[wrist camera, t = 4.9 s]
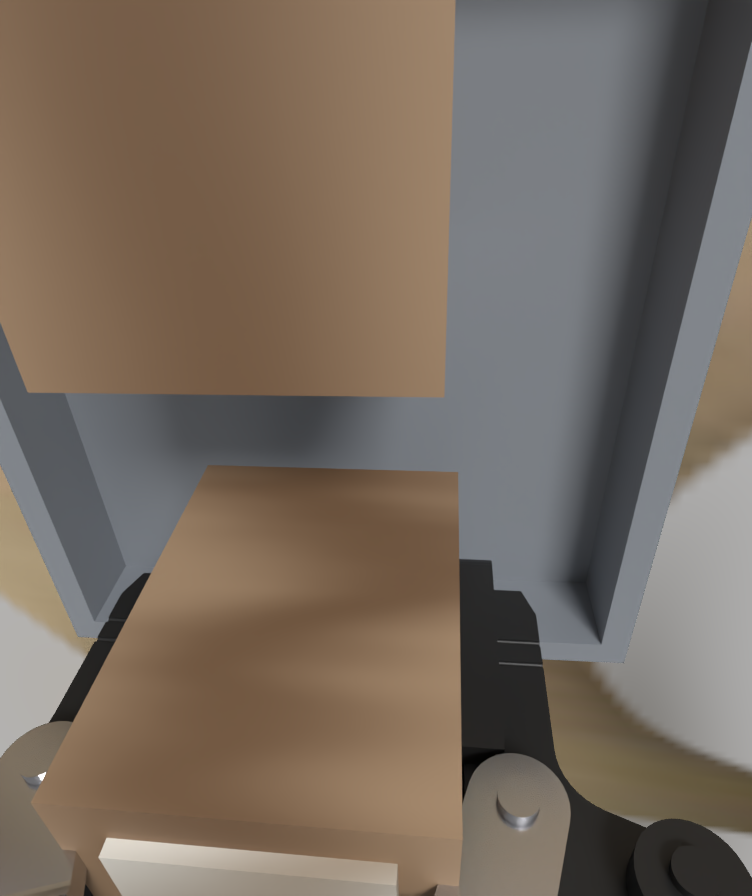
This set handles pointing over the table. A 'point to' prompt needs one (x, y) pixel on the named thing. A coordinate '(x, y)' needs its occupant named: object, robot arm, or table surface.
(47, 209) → the plain block
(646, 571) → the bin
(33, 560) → the table surface
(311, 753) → the labelled block
